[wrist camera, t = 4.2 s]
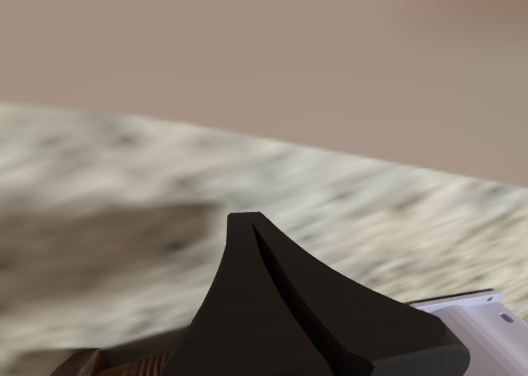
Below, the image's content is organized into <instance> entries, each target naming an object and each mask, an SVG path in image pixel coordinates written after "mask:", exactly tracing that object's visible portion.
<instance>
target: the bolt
mask: <svg viewBox="0 0 528 376" xmlns="http://www.w3.org/2000/svg"><path fill="white" fill-rule="evenodd" d="M172 352H173V350H172V351H170V353H169V352H165V353H164V355H162V354H159V355H157V357H156V356H152V357H151V358H150V359H149V358H146V359H144V360H139V361H136V362H135V361H131V362H127V363H124V364H121V365H118V366H115V367H112V366H111V365H110V363H109V362H108V361H107V359H106V358H105V356H104V355H103V353H102V352H101V350H100V349H99V348H96V349H93V350H89V351H86V352H82V353H79V354H75V355H73V356H72V357H70V358H69V359H67V360H66V361H65V362H64V363H62V364H61V365H60V366H59V367H58V368H57V369H56V370H55V371H54V372H53V373H52V374H51V375H50V376H159V374H160V372H161V369H162V367H163V365H164V363H165V362H166V361H167V359H168V358H169V356H170V355H171V353H172Z"/></svg>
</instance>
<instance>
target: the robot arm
mask: <svg viewBox="0 0 528 376" xmlns="http://www.w3.org/2000/svg"><path fill="white" fill-rule="evenodd" d="M503 296H504V293H502V292H501V291H500V290H493V291H487V292H481V293H475V294H469V295H463V296H457V297H451V298H445V299H439V300H433V301H427V302H421V303H415V304H411V305H406V304H403V303H401V302H398V301H396V300H393V299H391V298H389V297H387V296H384V295H382V294H380V293H378V292H375V291H373V290H371V289H369V288H367V287H365V286H363V285H361V284H359V283H357V282H355V281H353V280H351V279H349V278H348V277H346V276H344V275H342V274H340V273H339V272H337V271H335V270H333V269H332V268H330V267H329V266H327V265H326V264H324V263H322V262H321V261H319V260H318V259H316V258H315V257H313V256H312V255H310V254H309V253H308V252H306V251H305V250H304V249H302V248H301V247H300V246H299V245H297V244H296V243H295V242H294V241H292V240H291V239H290V238H289V237H288V236H286V235H285V234H284V233H283V232H282V231H281V230H280V229H278V228H277V227H276V226H275V225H274V224H273V223H272V222H271V221H270V220H269V219H268V218H266V217H265V216H264V215H263V214H262V213H261V212H244V213H230V214H229V215H228V216H227V237H226V246H225V250H224V253H223V257H222V260H221V263H220V266H219V268H218V271H217V273H216V276H215V278H214V281H213V283H212V285H211V287H210V289H209V291H208V293H207V296H206V297H205V299H204V301H203V303H202V305H201V307H200V309H199V310H198V312H197V314H196V316H195V317H194V319H193V321H192V322H191V324H190V326H189V328H188V329H187V331H186V332H185V334H184V336H183V337H182V339H181V340H180V341H179V343H178V344H177V346H176V347H175V349H174V350H173V352H172V353H171V355H170V356H169V358H168V359H167V361H166V362H165V363H164V365H163V367H162V369H161V372H160V374H159V376H528V325H527V324H526V323H525V322H524V321H522V320H521V319H520V318H519V317H518V316H516V315H515V314H514V313H513V312H511V311H510V310H509V309H508V308H506V307H505V306H504V305H503V304H501V303H500V300H501V299H502V298H503Z"/></svg>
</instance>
